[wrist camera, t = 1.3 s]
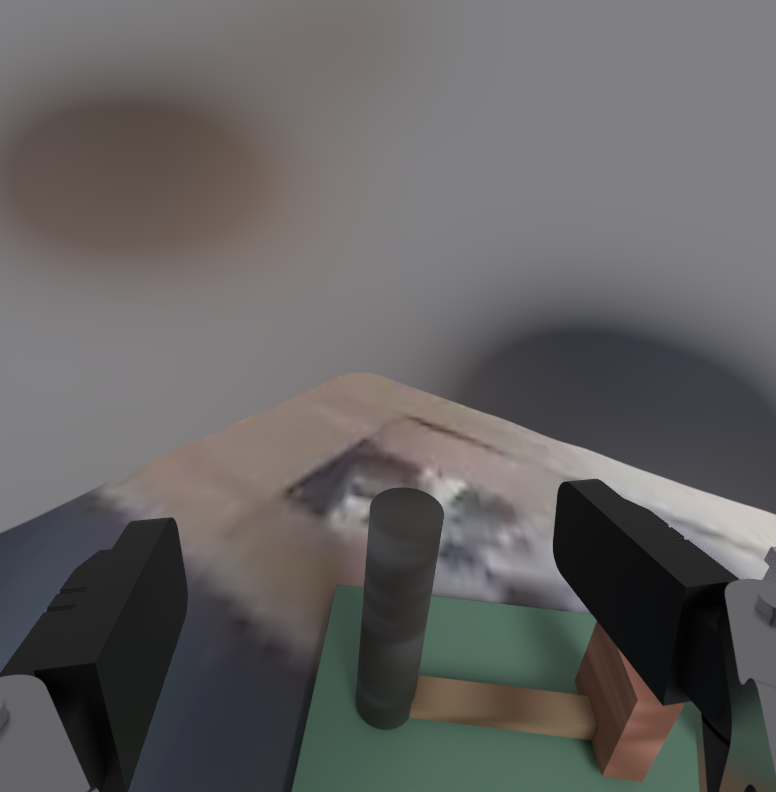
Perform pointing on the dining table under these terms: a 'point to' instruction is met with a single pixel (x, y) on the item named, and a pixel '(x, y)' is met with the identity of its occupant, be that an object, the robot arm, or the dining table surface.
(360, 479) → the dining table surface
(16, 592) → the dining table surface
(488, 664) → the board
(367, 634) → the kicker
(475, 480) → the dining table surface
